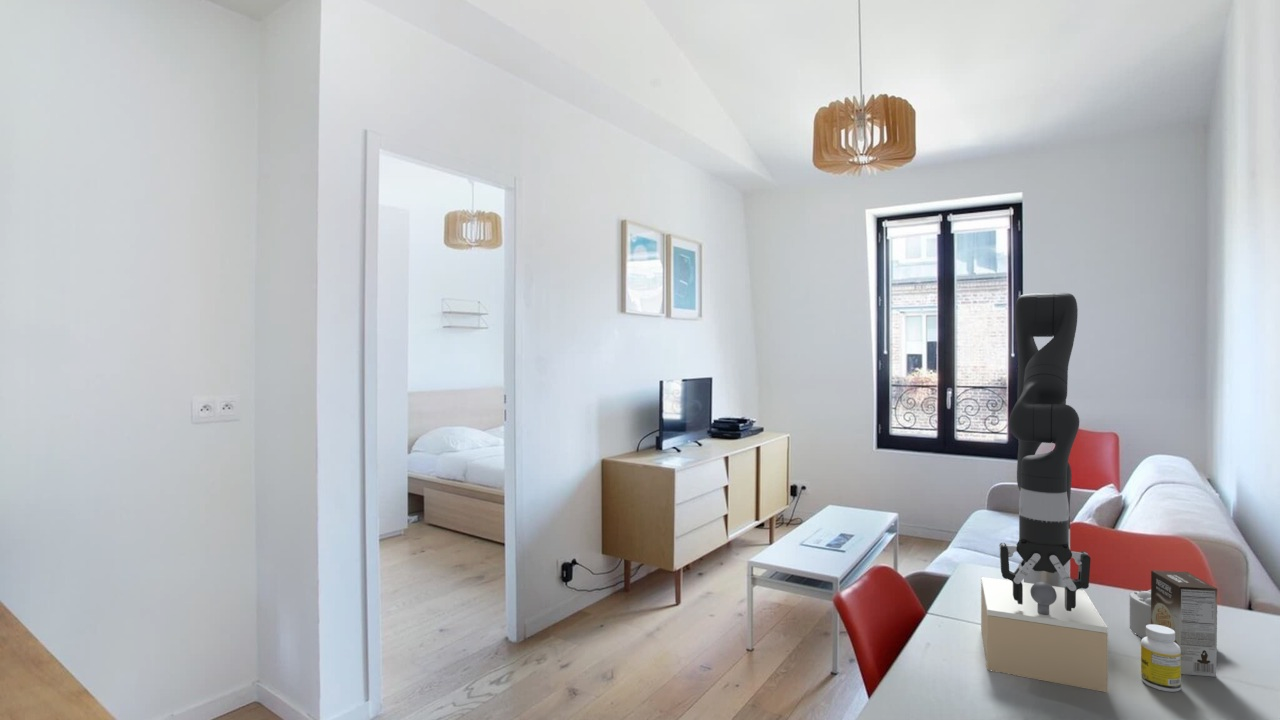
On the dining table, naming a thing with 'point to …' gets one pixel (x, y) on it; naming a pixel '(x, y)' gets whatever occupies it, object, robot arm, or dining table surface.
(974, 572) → the dining table surface
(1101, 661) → the carton
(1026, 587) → the lid
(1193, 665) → the coffee box
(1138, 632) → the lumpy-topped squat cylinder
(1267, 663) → the dining table surface
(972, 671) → the dining table surface
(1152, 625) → the supplement bottle
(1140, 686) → the dining table surface
